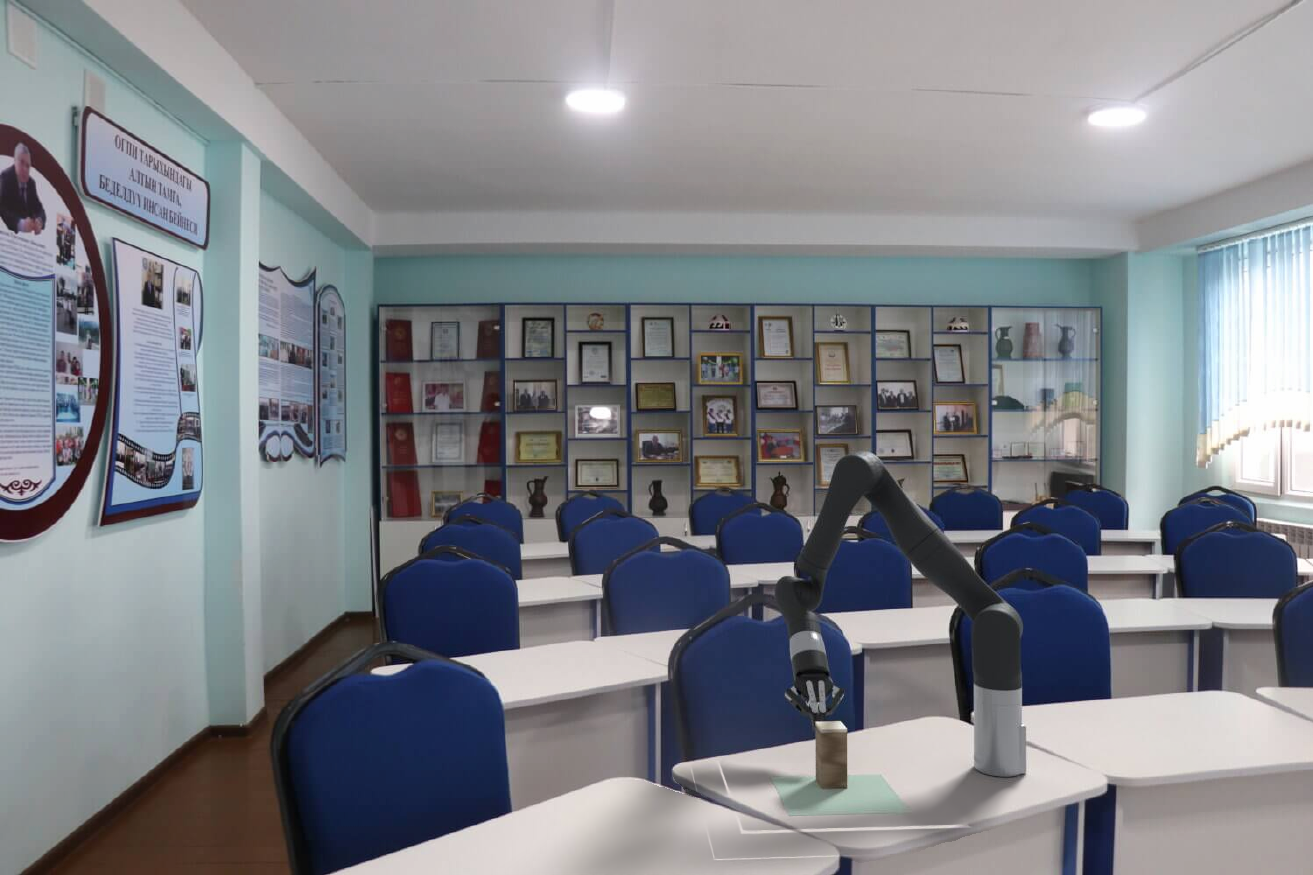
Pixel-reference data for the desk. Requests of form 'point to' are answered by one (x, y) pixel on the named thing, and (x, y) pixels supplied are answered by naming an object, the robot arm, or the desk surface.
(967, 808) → the desk surface
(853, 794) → the sage mat
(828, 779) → the walnut block
